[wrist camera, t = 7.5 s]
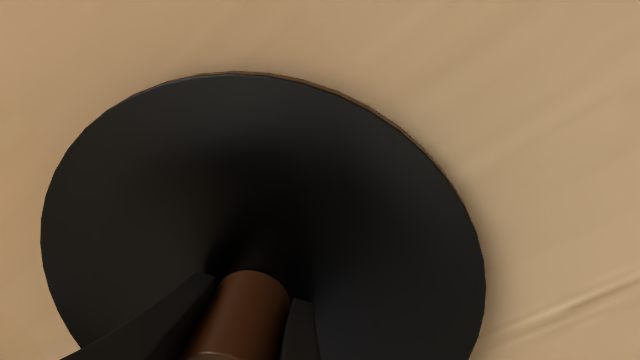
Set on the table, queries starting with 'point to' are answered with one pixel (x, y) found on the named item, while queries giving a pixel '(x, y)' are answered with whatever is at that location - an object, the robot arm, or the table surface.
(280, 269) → the cooker lid
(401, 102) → the table surface
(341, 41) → the table surface
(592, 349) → the table surface
